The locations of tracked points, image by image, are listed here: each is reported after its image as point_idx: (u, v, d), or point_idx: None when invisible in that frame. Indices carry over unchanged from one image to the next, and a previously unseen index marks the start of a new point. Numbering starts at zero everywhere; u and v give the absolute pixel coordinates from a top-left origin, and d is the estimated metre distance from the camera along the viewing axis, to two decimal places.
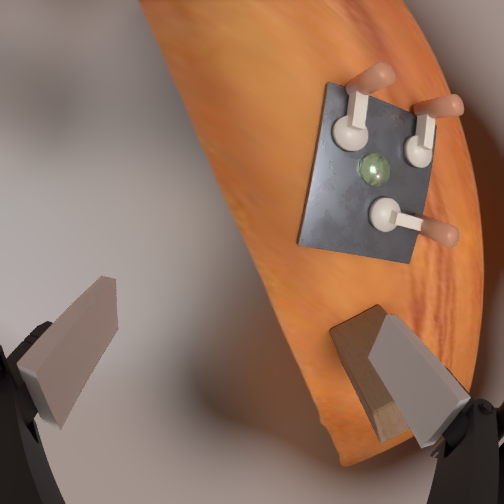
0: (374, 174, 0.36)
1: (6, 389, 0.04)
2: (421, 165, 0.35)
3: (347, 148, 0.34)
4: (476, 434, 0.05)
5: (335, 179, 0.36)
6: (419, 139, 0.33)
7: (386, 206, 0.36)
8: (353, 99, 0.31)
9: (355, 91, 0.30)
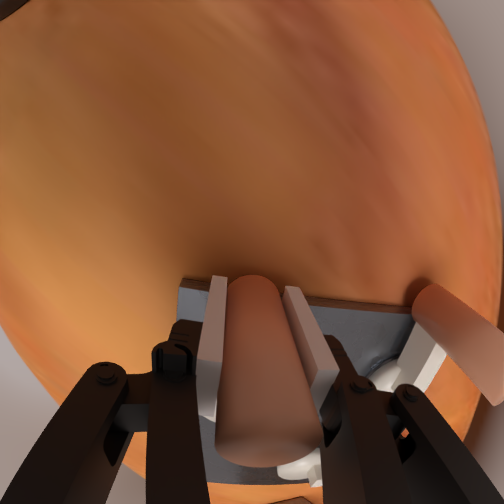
0: None
1: (189, 392, 0.06)
2: None
3: None
4: (354, 424, 0.06)
5: (214, 439, 0.19)
6: (399, 381, 0.16)
7: (303, 464, 0.19)
8: None
9: None
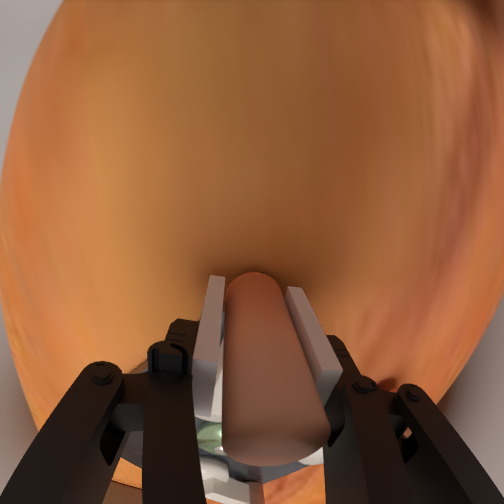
0: (218, 444, 0.18)
1: (185, 391, 0.06)
2: (308, 462, 0.19)
3: (206, 418, 0.16)
4: (357, 424, 0.06)
5: None
6: None
7: (207, 473, 0.19)
8: None
9: None
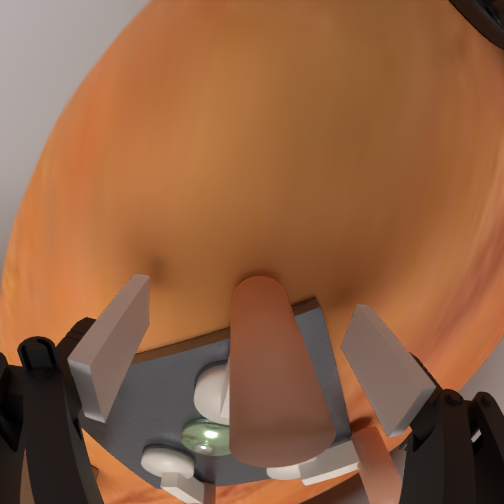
0: (201, 443, 0.18)
1: (56, 387, 0.05)
2: (274, 476, 0.19)
3: (222, 422, 0.16)
4: (445, 428, 0.05)
5: (144, 399, 0.17)
6: (310, 465, 0.18)
7: (175, 467, 0.18)
8: None
9: None
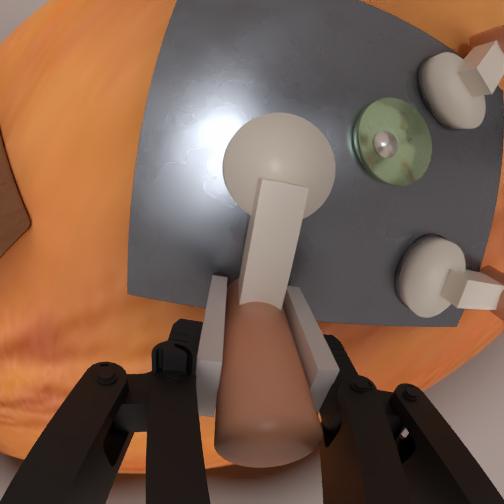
0: (387, 134, 0.12)
1: (189, 392, 0.06)
2: (412, 287, 0.14)
3: (444, 103, 0.11)
4: (354, 424, 0.06)
5: (355, 39, 0.11)
6: (464, 273, 0.13)
7: (309, 163, 0.12)
8: (484, 48, 0.08)
9: (492, 41, 0.08)
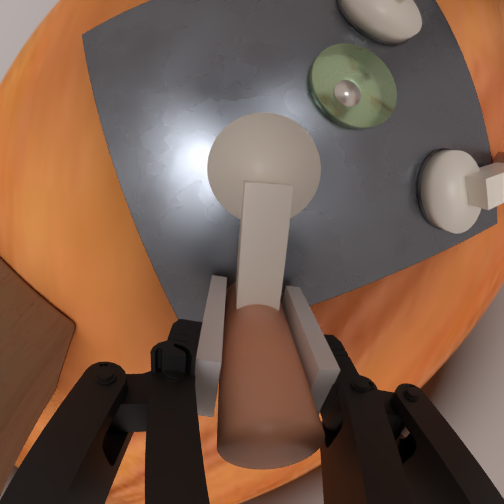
0: (344, 83, 0.11)
1: (188, 392, 0.06)
2: (439, 210, 0.13)
3: (378, 25, 0.09)
4: (355, 424, 0.06)
5: (265, 10, 0.10)
6: (479, 173, 0.12)
7: (293, 160, 0.12)
8: None
9: None
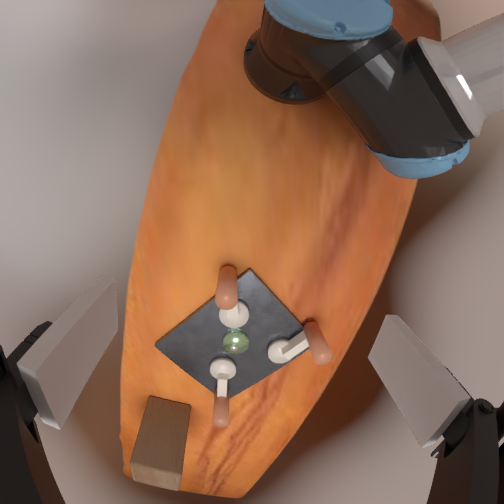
0: (232, 345, 0.48)
1: (6, 389, 0.04)
2: (274, 360, 0.49)
3: (234, 327, 0.46)
4: (476, 434, 0.05)
5: (202, 330, 0.48)
6: (286, 347, 0.48)
7: (229, 369, 0.49)
8: None
9: None
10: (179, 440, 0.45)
